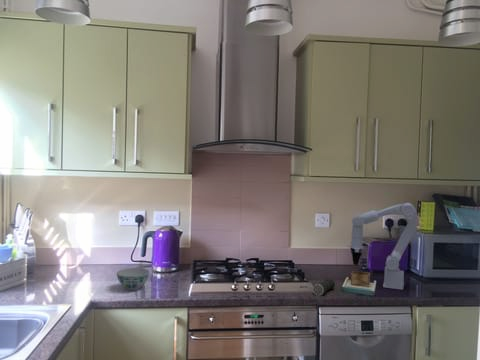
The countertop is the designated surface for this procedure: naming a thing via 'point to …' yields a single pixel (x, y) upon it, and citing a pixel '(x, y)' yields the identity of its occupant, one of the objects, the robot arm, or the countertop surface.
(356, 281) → the crate
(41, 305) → the countertop surface
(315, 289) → the flashlight
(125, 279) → the chinaware
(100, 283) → the countertop surface
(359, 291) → the tray
